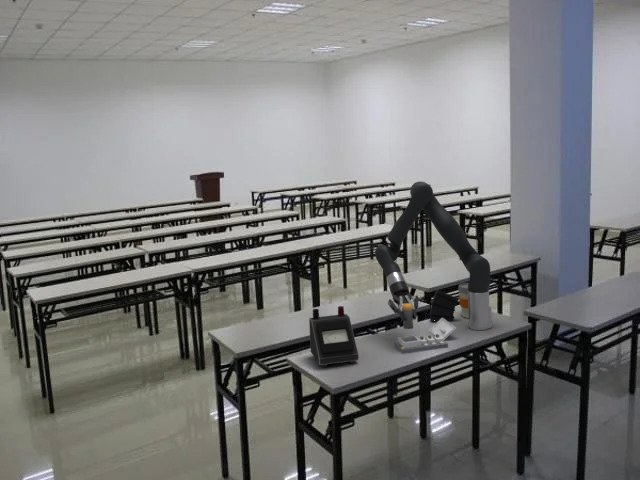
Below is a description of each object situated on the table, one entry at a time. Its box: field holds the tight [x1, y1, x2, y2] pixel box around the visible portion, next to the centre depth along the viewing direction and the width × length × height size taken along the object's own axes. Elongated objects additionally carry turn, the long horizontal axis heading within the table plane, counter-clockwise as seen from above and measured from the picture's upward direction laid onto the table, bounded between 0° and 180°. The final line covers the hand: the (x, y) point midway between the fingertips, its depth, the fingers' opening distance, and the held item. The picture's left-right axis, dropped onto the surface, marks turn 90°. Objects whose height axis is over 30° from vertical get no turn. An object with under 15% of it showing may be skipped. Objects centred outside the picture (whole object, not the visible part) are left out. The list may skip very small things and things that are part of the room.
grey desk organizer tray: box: [394, 334, 449, 354], centre depth 249 cm, size 20×10×4 cm, turn 100°
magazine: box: [428, 289, 459, 323], centre depth 280 cm, size 4×13×15 cm, turn 88°
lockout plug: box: [402, 303, 414, 330], centre depth 246 cm, size 4×4×10 cm
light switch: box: [428, 318, 457, 341], centre depth 261 cm, size 8×5×14 cm
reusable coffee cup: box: [457, 282, 470, 319], centre depth 284 cm, size 13×13×15 cm
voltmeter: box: [308, 305, 360, 368], centre depth 239 cm, size 16×16×20 cm
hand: (410, 319), depth 244 cm, fingers closed on lockout plug, 4 cm apart
